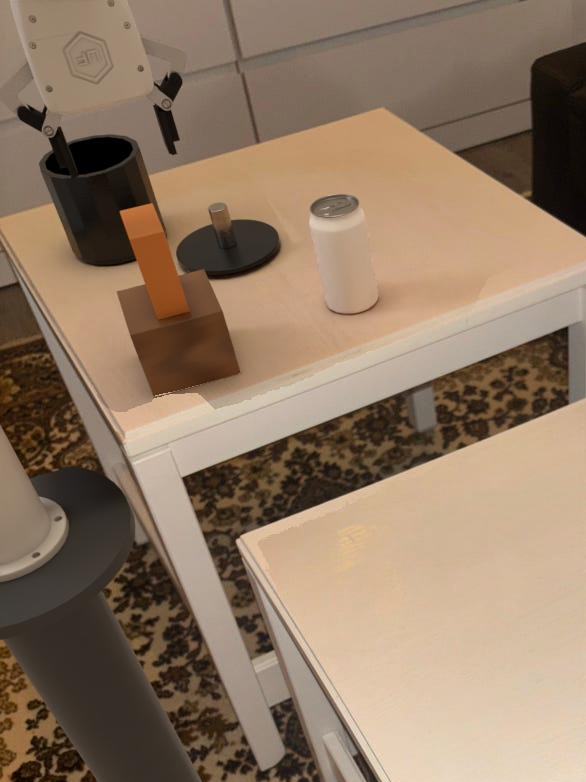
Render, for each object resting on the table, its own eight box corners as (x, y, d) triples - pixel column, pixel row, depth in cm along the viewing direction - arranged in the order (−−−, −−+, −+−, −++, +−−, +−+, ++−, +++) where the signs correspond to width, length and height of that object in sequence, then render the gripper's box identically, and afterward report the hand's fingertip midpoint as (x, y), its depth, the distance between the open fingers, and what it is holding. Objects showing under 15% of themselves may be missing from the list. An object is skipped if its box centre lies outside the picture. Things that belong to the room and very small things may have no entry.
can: (316, 304, 120) (294, 207, 111) (357, 282, 123) (339, 186, 114) (348, 322, 117) (328, 224, 108) (390, 300, 120) (374, 202, 111)
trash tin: (79, 273, 129) (44, 186, 121) (68, 232, 137) (34, 148, 129) (173, 250, 132) (145, 162, 123) (157, 211, 140) (130, 126, 131)
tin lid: (189, 289, 125) (174, 242, 120) (170, 243, 133) (155, 197, 129) (292, 262, 127) (281, 215, 123) (267, 218, 136) (256, 173, 131)
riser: (154, 398, 110) (129, 335, 104) (139, 353, 116) (116, 291, 110) (241, 374, 112) (222, 310, 105) (222, 331, 118) (203, 268, 112)
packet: (157, 320, 105) (129, 239, 98) (147, 290, 109) (119, 210, 103) (190, 311, 106) (163, 231, 99) (178, 282, 110) (152, 202, 103)
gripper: (-50, -11, 80) (37, 198, 93) (160, -52, 83) (217, 155, 96) (-54, -35, 84) (30, 167, 97) (146, -73, 87) (201, 127, 100)
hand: (123, 161), depth 96 cm, fingers open, 9 cm apart
